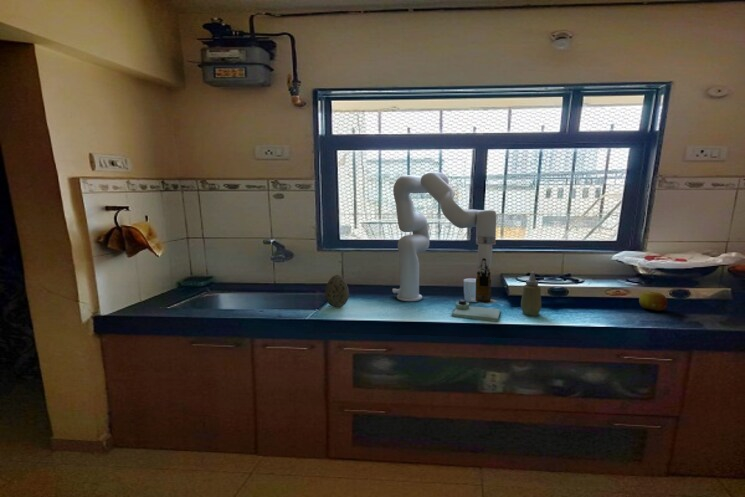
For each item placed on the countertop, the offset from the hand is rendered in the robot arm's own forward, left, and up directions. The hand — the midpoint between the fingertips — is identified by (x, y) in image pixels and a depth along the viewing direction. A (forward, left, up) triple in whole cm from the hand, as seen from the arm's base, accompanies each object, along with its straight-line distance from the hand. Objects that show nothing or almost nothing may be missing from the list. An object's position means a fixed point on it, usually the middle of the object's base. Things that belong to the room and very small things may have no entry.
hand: (484, 283), depth 144 cm
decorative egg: (-63, -11, -14) cm, 66 cm away
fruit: (+66, +34, -14) cm, 75 cm away
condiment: (0, -1, -7) cm, 7 cm away
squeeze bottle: (+18, +10, -14) cm, 25 cm away
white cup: (-8, +22, -14) cm, 27 cm away
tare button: (-10, +5, -11) cm, 16 cm away
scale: (-3, +2, -14) cm, 14 cm away
